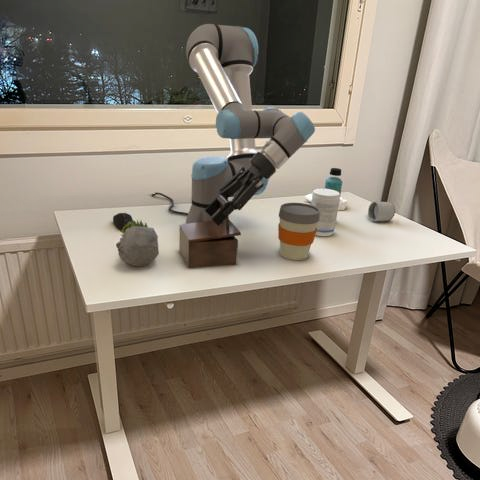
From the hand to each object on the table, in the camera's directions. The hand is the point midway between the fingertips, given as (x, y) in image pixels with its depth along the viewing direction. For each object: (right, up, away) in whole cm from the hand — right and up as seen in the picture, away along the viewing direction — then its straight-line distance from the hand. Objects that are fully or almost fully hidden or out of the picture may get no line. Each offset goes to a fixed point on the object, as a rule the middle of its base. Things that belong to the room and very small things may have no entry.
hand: (211, 217), depth 139 cm
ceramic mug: (+63, +10, +51) cm, 82 cm away
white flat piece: (+45, +20, +64) cm, 81 cm away
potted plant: (-22, -13, +1) cm, 26 cm away
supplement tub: (+37, +2, +33) cm, 50 cm away
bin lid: (-1, -4, +2) cm, 4 cm away
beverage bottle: (+42, +8, +44) cm, 61 cm away
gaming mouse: (-31, +2, +24) cm, 39 cm away
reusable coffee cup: (+26, -9, +14) cm, 30 cm away
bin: (-2, -11, +6) cm, 13 cm away
